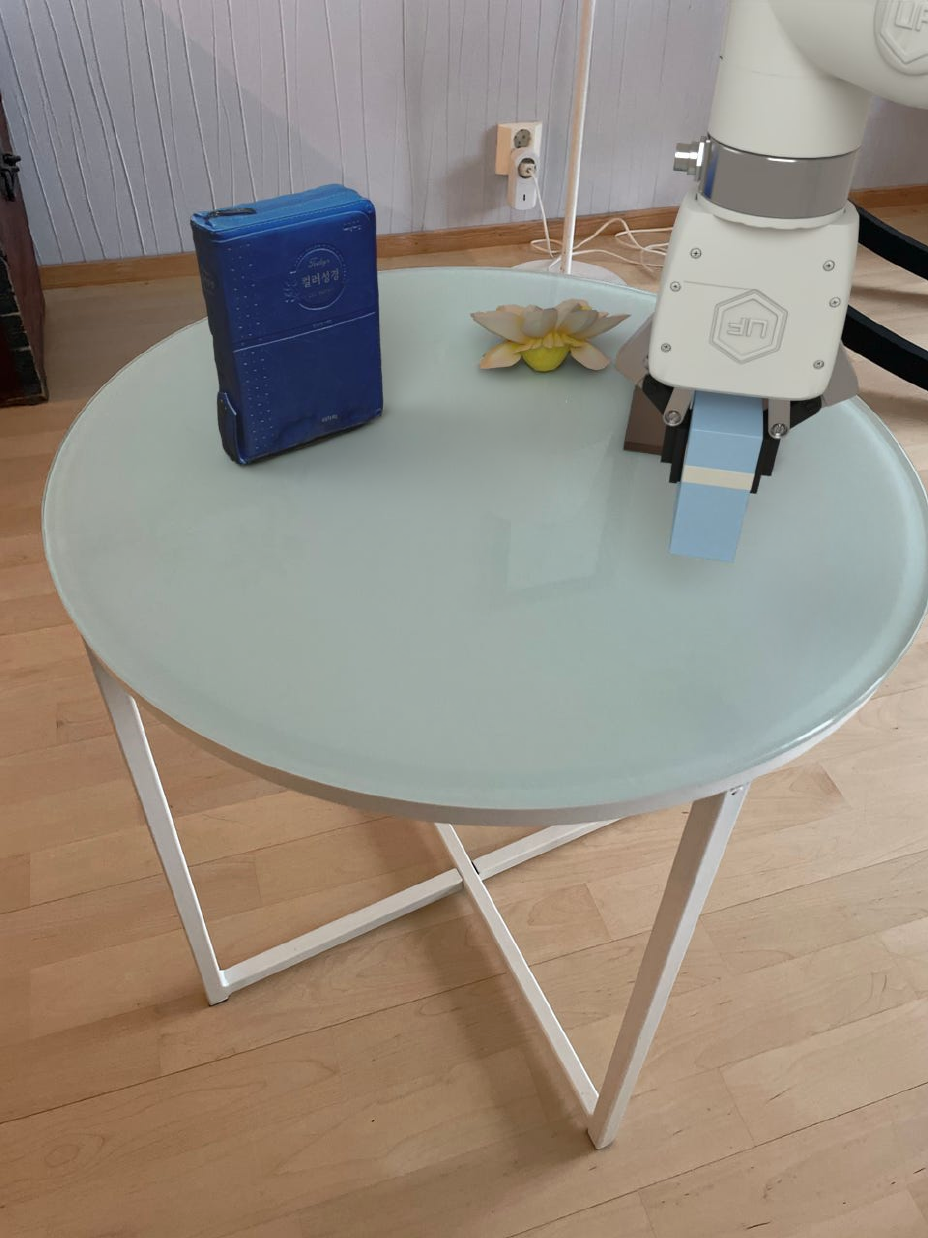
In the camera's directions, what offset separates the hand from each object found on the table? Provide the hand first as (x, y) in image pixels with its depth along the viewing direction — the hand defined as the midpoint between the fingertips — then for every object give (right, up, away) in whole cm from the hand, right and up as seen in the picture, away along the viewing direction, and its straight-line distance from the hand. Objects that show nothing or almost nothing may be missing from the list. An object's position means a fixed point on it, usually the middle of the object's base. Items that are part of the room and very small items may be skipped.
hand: (713, 474), depth 63 cm
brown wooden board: (+5, +10, +27) cm, 29 cm away
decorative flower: (-8, +16, +34) cm, 38 cm away
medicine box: (0, -3, +2) cm, 4 cm away
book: (-30, +6, +23) cm, 38 cm away
